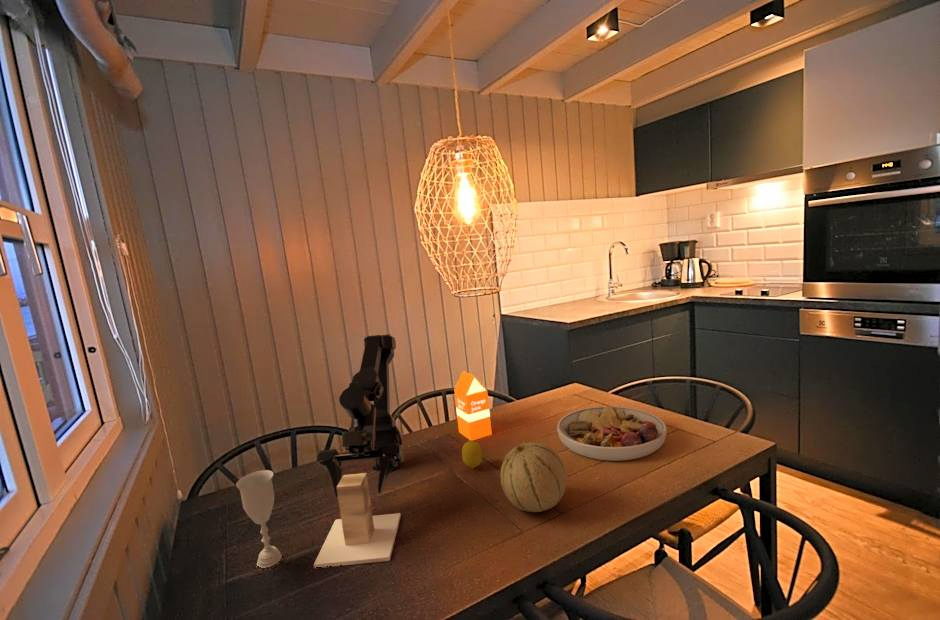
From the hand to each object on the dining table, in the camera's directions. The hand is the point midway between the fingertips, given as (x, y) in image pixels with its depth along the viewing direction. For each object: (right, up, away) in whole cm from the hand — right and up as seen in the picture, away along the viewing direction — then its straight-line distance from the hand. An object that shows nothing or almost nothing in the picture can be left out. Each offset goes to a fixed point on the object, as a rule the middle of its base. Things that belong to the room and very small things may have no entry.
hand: (358, 495), depth 99 cm
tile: (+1, -9, -2) cm, 9 cm away
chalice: (-17, -12, -5) cm, 21 cm away
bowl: (+65, +2, +33) cm, 73 cm away
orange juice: (+26, 0, +48) cm, 55 cm away
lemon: (+25, -3, +25) cm, 36 cm away
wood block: (+1, -8, -2) cm, 8 cm away
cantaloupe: (+39, -4, +4) cm, 40 cm away
